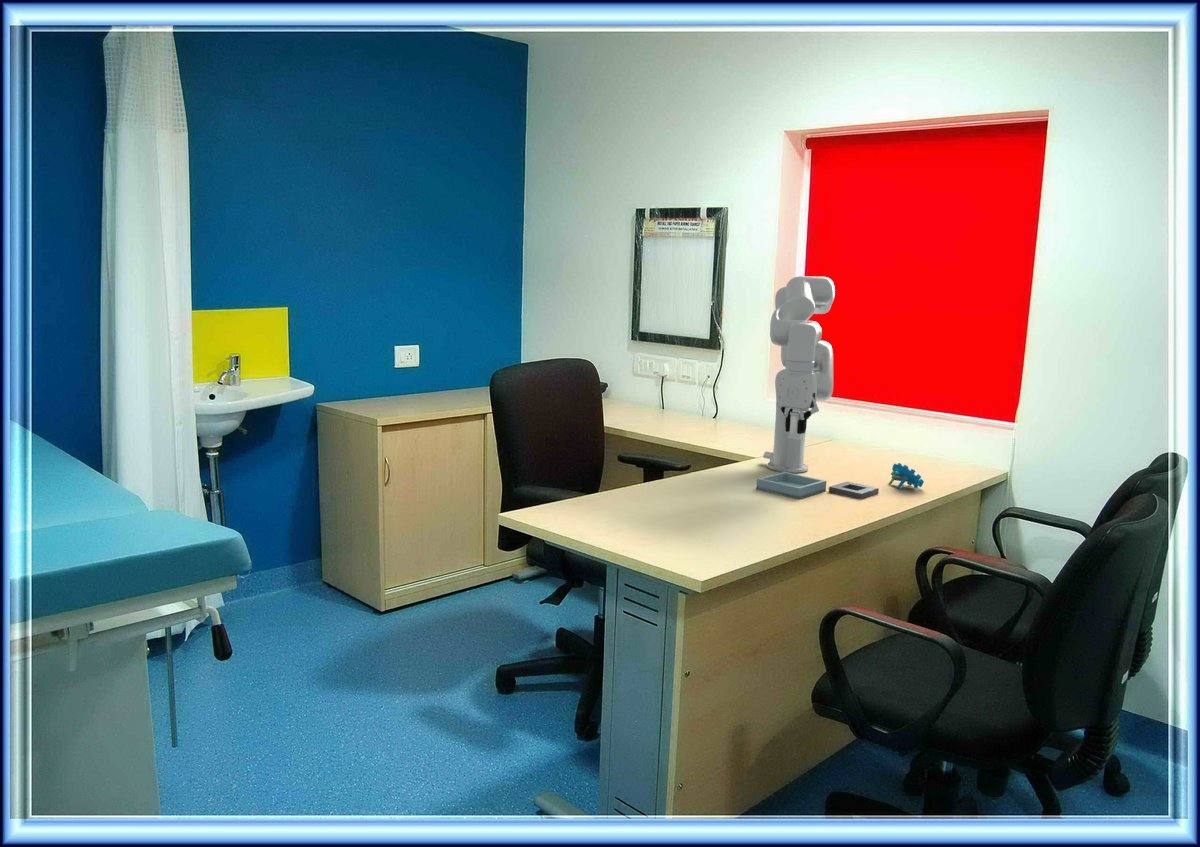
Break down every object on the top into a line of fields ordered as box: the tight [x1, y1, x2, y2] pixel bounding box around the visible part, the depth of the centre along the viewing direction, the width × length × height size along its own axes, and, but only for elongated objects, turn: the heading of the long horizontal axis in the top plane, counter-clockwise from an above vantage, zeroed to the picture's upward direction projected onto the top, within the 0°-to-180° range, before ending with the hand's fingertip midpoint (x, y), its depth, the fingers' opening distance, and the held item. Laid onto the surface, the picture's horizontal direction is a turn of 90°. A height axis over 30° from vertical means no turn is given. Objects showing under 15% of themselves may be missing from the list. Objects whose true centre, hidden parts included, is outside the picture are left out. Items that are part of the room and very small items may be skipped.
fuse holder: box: [828, 481, 880, 500], centre depth 254 cm, size 10×10×2 cm
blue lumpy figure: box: [888, 462, 925, 490], centre depth 262 cm, size 11×6×10 cm
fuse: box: [788, 411, 801, 440], centre depth 251 cm, size 4×4×8 cm
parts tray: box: [755, 472, 827, 500], centre depth 255 cm, size 14×14×3 cm
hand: (795, 431), depth 252 cm, fingers closed on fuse, 3 cm apart
